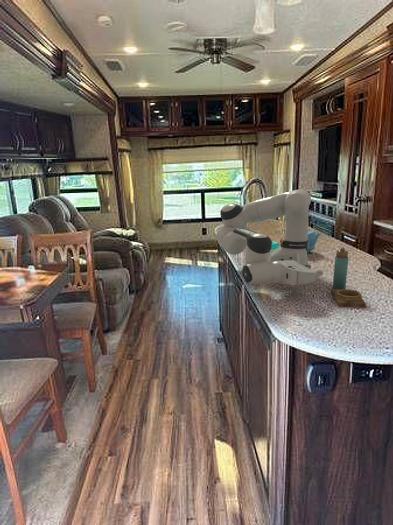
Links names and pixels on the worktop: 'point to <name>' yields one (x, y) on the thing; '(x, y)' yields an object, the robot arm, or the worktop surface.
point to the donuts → (274, 245)
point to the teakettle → (312, 239)
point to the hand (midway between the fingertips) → (315, 269)
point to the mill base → (348, 298)
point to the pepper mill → (340, 269)
